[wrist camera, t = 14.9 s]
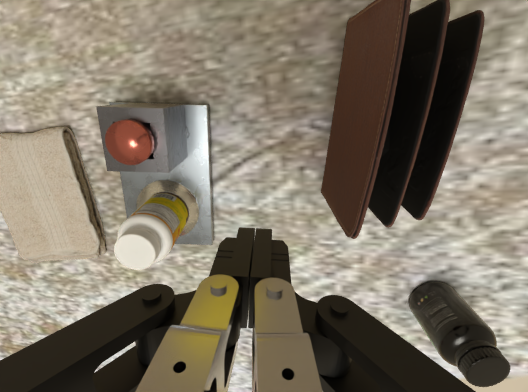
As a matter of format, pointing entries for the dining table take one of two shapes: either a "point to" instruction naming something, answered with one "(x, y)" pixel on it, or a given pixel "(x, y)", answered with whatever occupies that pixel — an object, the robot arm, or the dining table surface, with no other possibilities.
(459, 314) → the supplement bottle
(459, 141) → the dining table surface
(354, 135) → the letter holder
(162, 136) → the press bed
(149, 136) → the pin
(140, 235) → the supplement bottle
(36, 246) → the washcloth
